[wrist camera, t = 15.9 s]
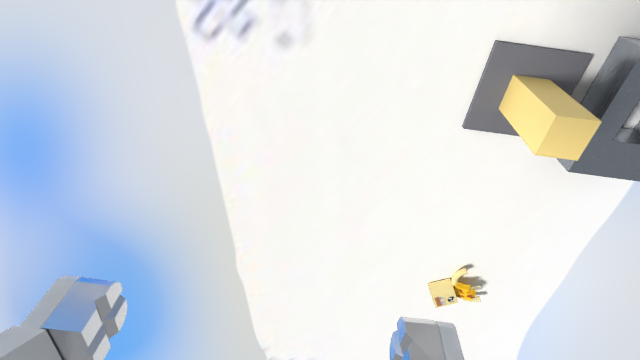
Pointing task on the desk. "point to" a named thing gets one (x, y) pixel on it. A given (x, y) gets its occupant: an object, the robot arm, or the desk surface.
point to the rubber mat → (523, 62)
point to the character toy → (452, 290)
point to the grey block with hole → (613, 117)
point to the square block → (548, 118)
